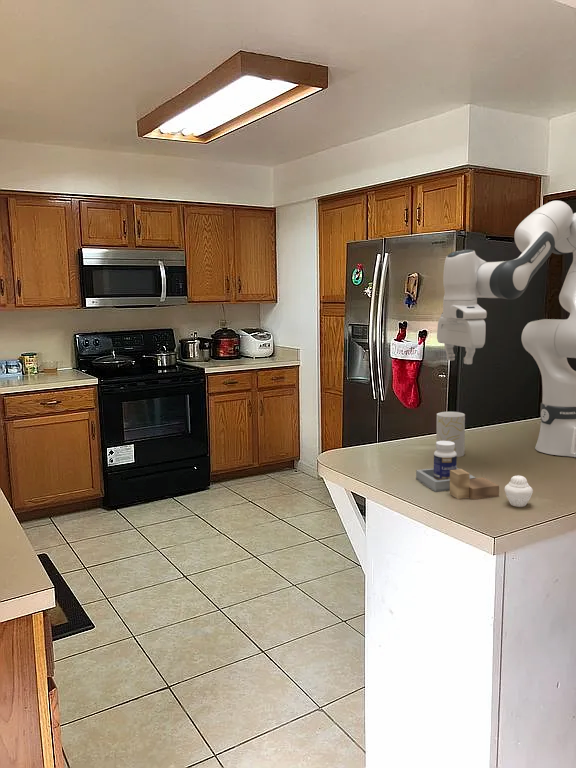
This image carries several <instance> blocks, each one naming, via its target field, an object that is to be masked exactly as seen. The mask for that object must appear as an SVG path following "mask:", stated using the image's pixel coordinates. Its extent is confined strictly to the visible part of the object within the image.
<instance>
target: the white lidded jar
mask: <svg viewBox="0 0 576 768" xmlns="http://www.w3.org/2000/svg"><path fill="white" fill-rule="evenodd" d="M504 492H505V496H506V498H507V500H508V502H509V504H510V505H511V506H512V507H516V508H517V507H518V508H523V507H526V506H527V504H528V502H529V501H530V499H531V497H532V494H533V492H534V489H533V487H531V486H530V485H529V483H528V480H527V478H526V477H525V476H523V475H520V474H518V475H514V476H512V477H511V478H510V481H509V482H508V483H507V484H506V485H505V486H504Z"/></svg>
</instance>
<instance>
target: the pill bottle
mask: <svg viewBox="0 0 576 768" xmlns="http://www.w3.org/2000/svg"><path fill="white" fill-rule="evenodd" d="M435 448H437V450H436V449H435V451H433V468H434V476H433V477H434V479H436V480H437V481H438V480H447V479H450V470H455V469H457V468H458V467H457V464H458V463H457V461H458V459H457V458H458V457H457V454H456V452H455V451H454V448H455V443H454V442H451V441H437V442H436V441H435Z"/></svg>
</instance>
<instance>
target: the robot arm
mask: <svg viewBox="0 0 576 768" xmlns="http://www.w3.org/2000/svg"><path fill="white" fill-rule="evenodd" d="M514 243H515V245H516V248H518V250H519V252H521V254H520V255H519V256H518V257H517V258H514V259H511V260H505V261H504V260H502V261H486V260H484V259H482V258H481V257H479V255H477V253H476V251H475V250H474V249H461V250H455V251H452V252H450V253H449V254H447V255H446V257H445V260H444V265H443V272H442V273H443V280H442V282H443V283H442V285H443V289H444V293H443V294H444V296H443V301H442V312H441V314H440V317H439V318H438V322H437V331H436V333H437V334H436V339H437V342H438V344H444V350H445V353H446V360H447V361H450V362H451V361H455V359H456V354H455V353H454V347H455V346H456V347H461V348H462V347H464V348H465V352H466V353H465V356H464V357H463V364H465V365H472V364H473V358H474V355H475V353H476V349H481V348H482V349H483V347H484V345H486V328H487V327H486V321H485V319H486V318H488V317H487V315H488V312H487V310H486V309H484V308H483V307H482V306H480V305H479V304H478V298H480V299H481V298H482V299H483V298H485V299H505V300H516V299H517V298H520V297H521V296H522V295H523V293H525V292H526V290H527V288H528V286H529V283H530V281H531V280H532V278H533V277H534V275H535V274H536V273H537V272H538V271H539V270H540V268H541V267H542V266H543V265H544V264H545V262H546V261H547V260H548V258H549V257H550V256H551V255H552V253H553V254H555V255H566V254H569V253H572V262H571V264H570V267H569V269H568V271H567V274H566V276H565V279H564V282H563V285H562V287H561V290H560V292H559V295H558V300H559V304H560V306H561V308H563V309H564V310H565V311H566V312H568V313H569V316H568V318H565V319H559V318H557V319H555V318H551V319H550V318H549V319H548V318H542V319H539V320H538V319H536V320H532V321H530V322H527V324H526V325H525V326H524V328H523V330H522V332H521V344H522V347H523V349H524V350H525V351H526V352H528V354H530V355H531V356H532V357H533V359H534V361H535V362H536V364H537V366H538V368H539V371H540V375H541V385H542V401H541V402H540V411H539V414H540V425H539V426H540V427H539V428H540V429H539V433H538V437H537V442H536V443H535V447H534V449H535V450H536V451H537V452H540V453H544V454H547V455H552V456H553V455H555V456H562V457H571V458H576V370H574V369H573V368H572V367H571V365H570V364H569V362H568V358H571V359H576V212H573V209H572V208H571V207H570V205H569V204H567V203H566V202H565V201H562V200H552V201H549V202H547V203H545V204H543V205H542V206H540V207H538V208H536V209H535V210H534V211H532V212H531V213H530V214H529V215H527V216H526V217H524V219H523V220H522V221H521V222H520V223H519V224H518V226H517V227H516V229H515V231H514Z"/></svg>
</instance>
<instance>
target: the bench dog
mask: <svg viewBox="0 0 576 768" xmlns="http://www.w3.org/2000/svg"><path fill="white" fill-rule="evenodd" d="M470 475H471V474H470V472H467V471H466V470H464V469H463V468H459V469H455V470H450V490H449V495H450V496H452V497H453V498H455V499H457V500H461V499H470V498H469V483H470Z"/></svg>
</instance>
